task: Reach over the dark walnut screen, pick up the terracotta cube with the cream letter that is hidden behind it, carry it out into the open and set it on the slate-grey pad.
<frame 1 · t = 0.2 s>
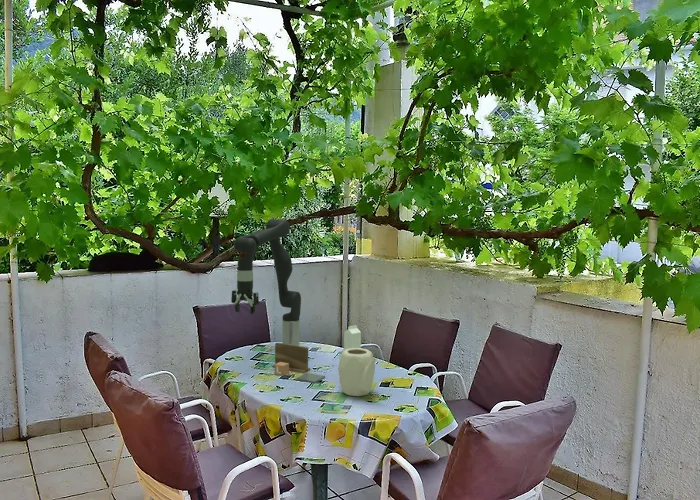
hand: (244, 312, 284), 29 cm above the table, tool pointing down, fingers open, 8 cm apart
walnut screen: (291, 368, 294), on the table
slate pad: (310, 378, 279), on the table
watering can: (357, 394, 260), on the table
milk: (351, 369, 296), on the table
letter cube: (281, 373, 286), on the table
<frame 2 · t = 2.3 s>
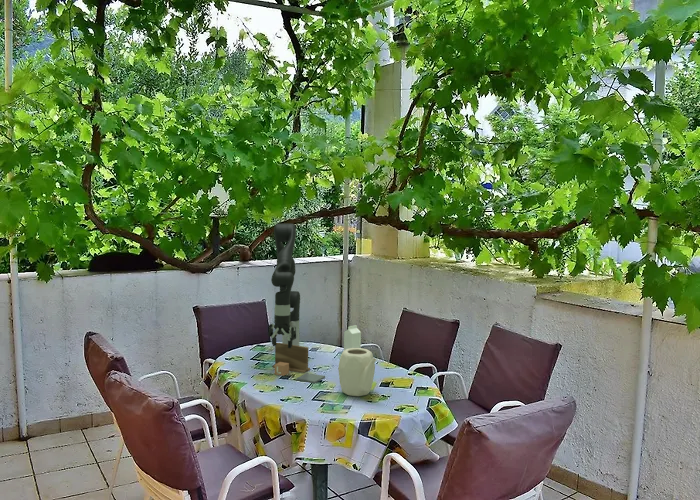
hand: (281, 346, 284), 13 cm above the table, tool pointing down, fingers open, 8 cm apart
nothing on the table moved.
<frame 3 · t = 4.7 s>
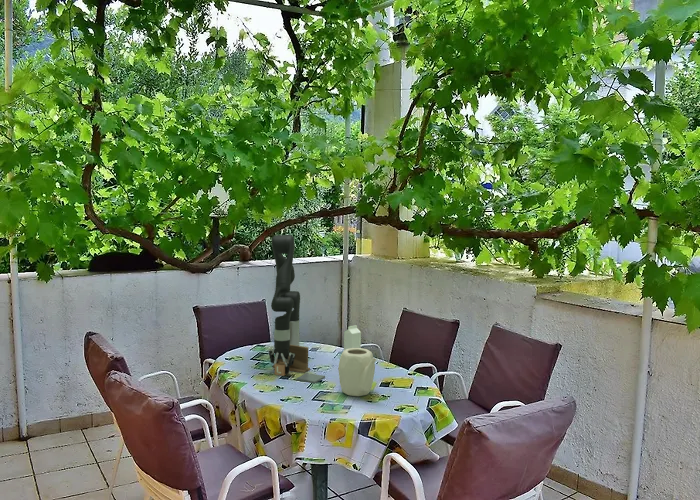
hand: (281, 372, 286), 0 cm above the table, tool pointing down, fingers closed on letter cube, 5 cm apart
letter cube: (281, 373, 286), on the table, touching gripper
everything else where it was.
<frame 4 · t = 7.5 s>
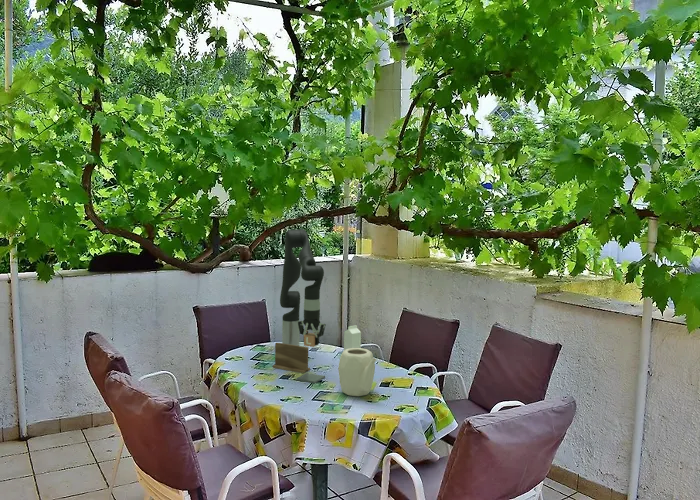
hand: (311, 344, 277), 17 cm above the table, tool pointing down, fingers closed on letter cube, 5 cm apart
letter cube: (311, 345, 277), point 16 cm above the table, touching gripper
everything else where it was.
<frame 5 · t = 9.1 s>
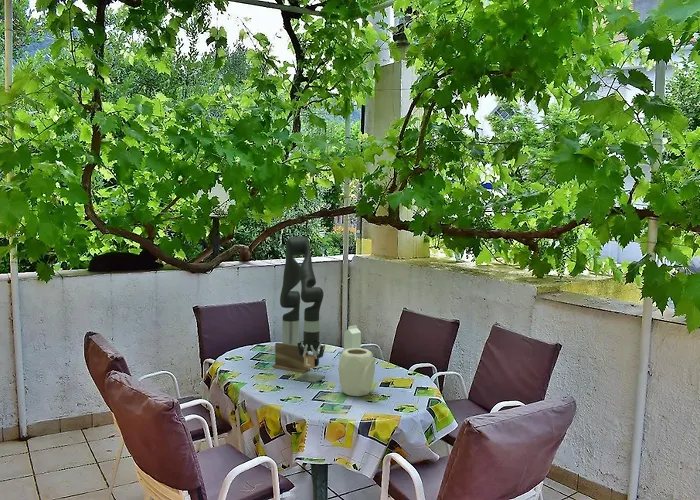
hand: (310, 365, 278), 7 cm above the table, tool pointing down, fingers closed on letter cube, 5 cm apart
letter cube: (310, 366, 278), point 6 cm above the table, touching gripper
everything else where it was.
when the fingers open (2 cm above the table, at t = 10.5 s): letter cube stays where it is, resting on slate pad.
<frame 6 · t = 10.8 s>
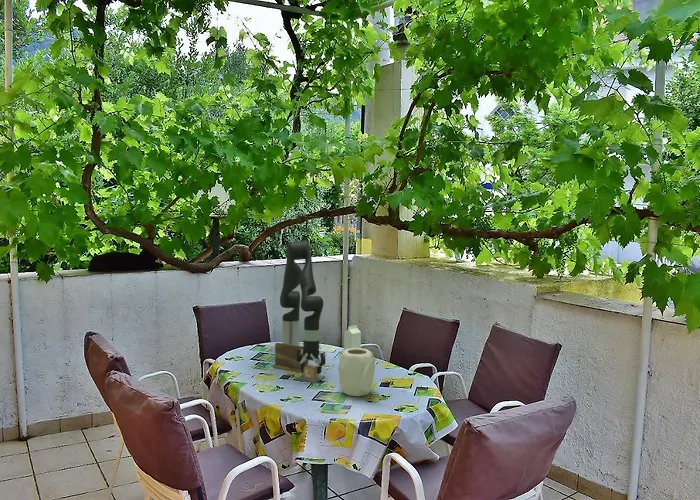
hand: (310, 372, 279), 3 cm above the table, tool pointing down, fingers open, 8 cm apart
letter cube: (310, 377, 279), point 1 cm above the table, touching slate pad
everything else where it was.
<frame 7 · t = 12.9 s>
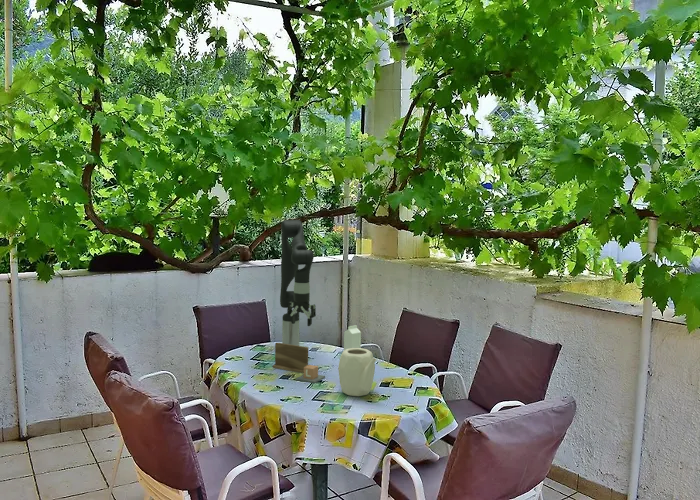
hand: (301, 324, 284), 24 cm above the table, tool pointing down, fingers open, 8 cm apart
nothing on the table moved.
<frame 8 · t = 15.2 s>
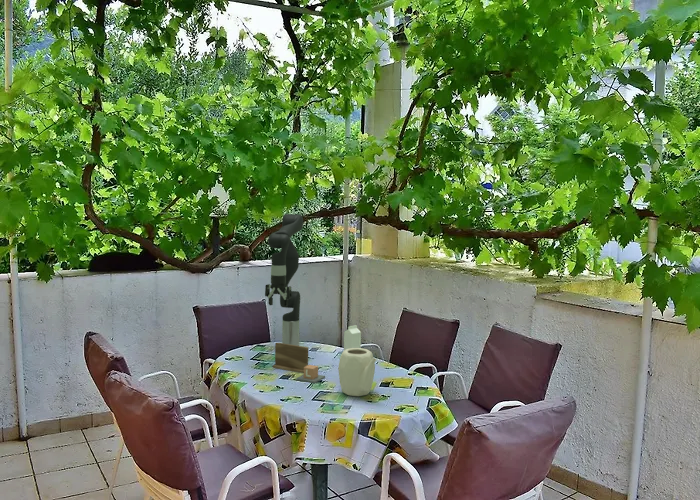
hand: (278, 306, 298), 30 cm above the table, tool pointing down, fingers open, 8 cm apart
nothing on the table moved.
at the end: letter cube inside the target area on the slate pad (0.0 cm from its centre), point 0.8 cm above the slate pad's base; letter cube tilted 0°; the gripper is holding nothing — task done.
